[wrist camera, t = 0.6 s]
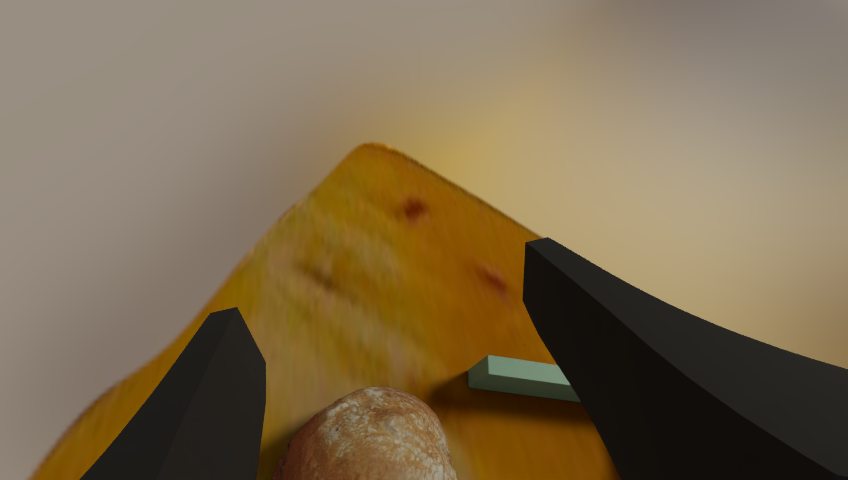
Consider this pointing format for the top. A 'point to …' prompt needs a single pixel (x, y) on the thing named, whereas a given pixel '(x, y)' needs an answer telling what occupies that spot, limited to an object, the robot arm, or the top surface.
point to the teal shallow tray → (521, 378)
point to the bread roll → (370, 441)
